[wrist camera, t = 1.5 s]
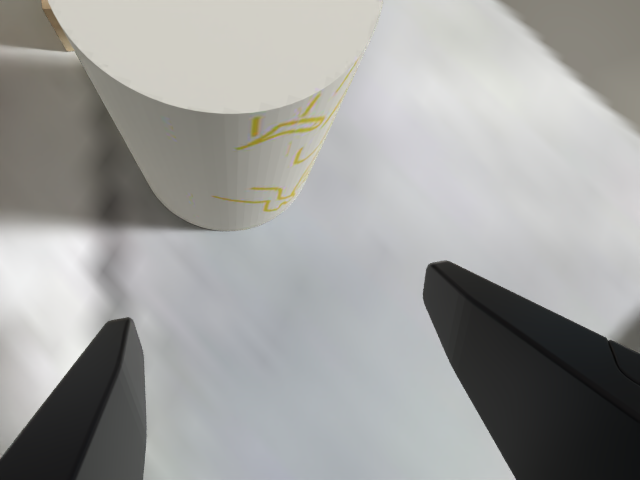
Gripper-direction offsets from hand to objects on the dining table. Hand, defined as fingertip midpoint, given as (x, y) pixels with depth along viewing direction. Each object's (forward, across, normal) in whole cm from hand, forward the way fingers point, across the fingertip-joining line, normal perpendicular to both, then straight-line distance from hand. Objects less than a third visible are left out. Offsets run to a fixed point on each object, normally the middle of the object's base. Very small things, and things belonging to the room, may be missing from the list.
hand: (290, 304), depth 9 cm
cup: (+15, 0, +3) cm, 15 cm away
